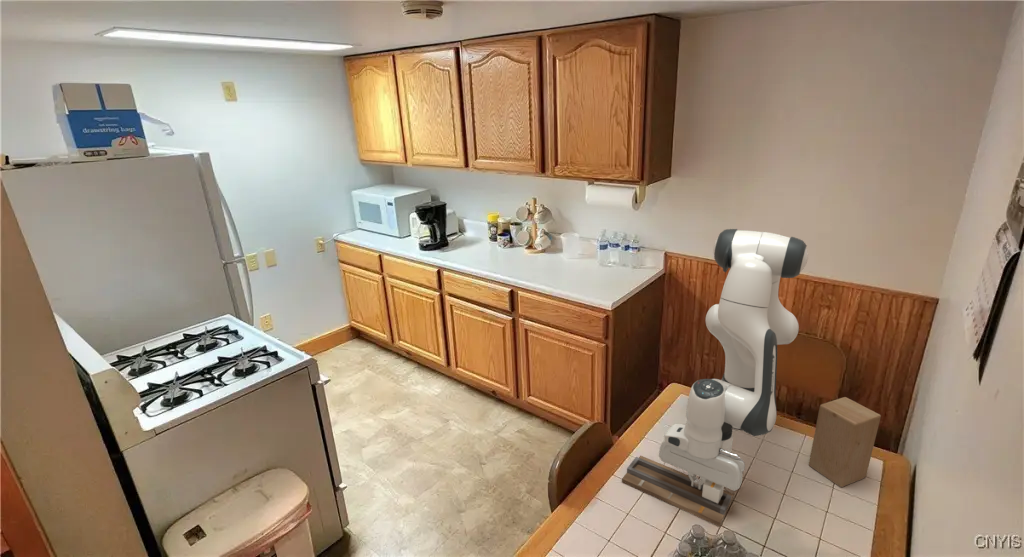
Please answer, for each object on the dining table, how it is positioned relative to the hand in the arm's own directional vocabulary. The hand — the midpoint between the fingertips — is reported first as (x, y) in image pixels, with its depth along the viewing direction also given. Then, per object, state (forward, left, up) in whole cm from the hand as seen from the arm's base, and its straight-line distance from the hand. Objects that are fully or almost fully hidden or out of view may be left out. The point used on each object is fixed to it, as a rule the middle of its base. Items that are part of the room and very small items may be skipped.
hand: (696, 486), depth 129 cm
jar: (-18, -1, -4) cm, 18 cm away
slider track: (0, -5, -4) cm, 6 cm away
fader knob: (0, +4, -2) cm, 5 cm away
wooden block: (-33, +28, -4) cm, 43 cm away
